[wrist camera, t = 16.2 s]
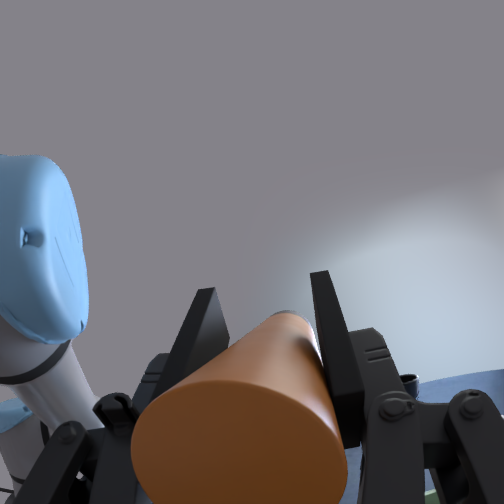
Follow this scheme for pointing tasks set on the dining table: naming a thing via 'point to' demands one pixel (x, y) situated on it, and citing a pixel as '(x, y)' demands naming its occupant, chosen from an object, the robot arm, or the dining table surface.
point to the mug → (411, 384)
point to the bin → (431, 497)
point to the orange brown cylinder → (246, 426)
